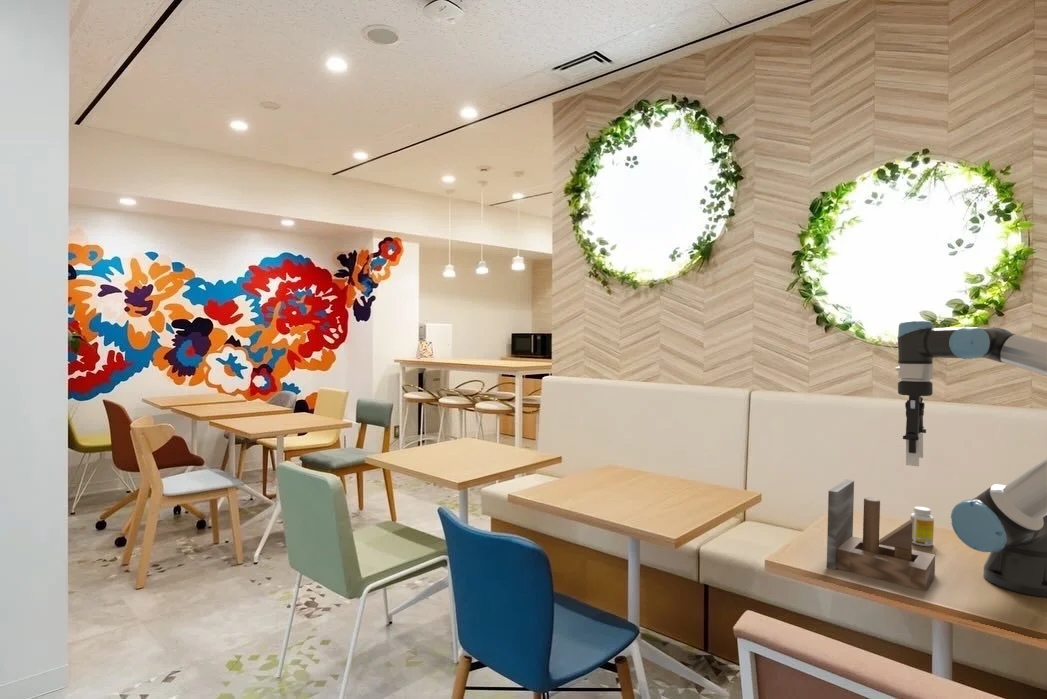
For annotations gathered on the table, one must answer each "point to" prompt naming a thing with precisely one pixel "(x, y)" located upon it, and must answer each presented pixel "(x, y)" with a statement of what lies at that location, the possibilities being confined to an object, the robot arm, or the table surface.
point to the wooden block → (896, 538)
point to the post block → (853, 558)
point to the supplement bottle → (922, 526)
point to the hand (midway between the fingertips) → (914, 461)
